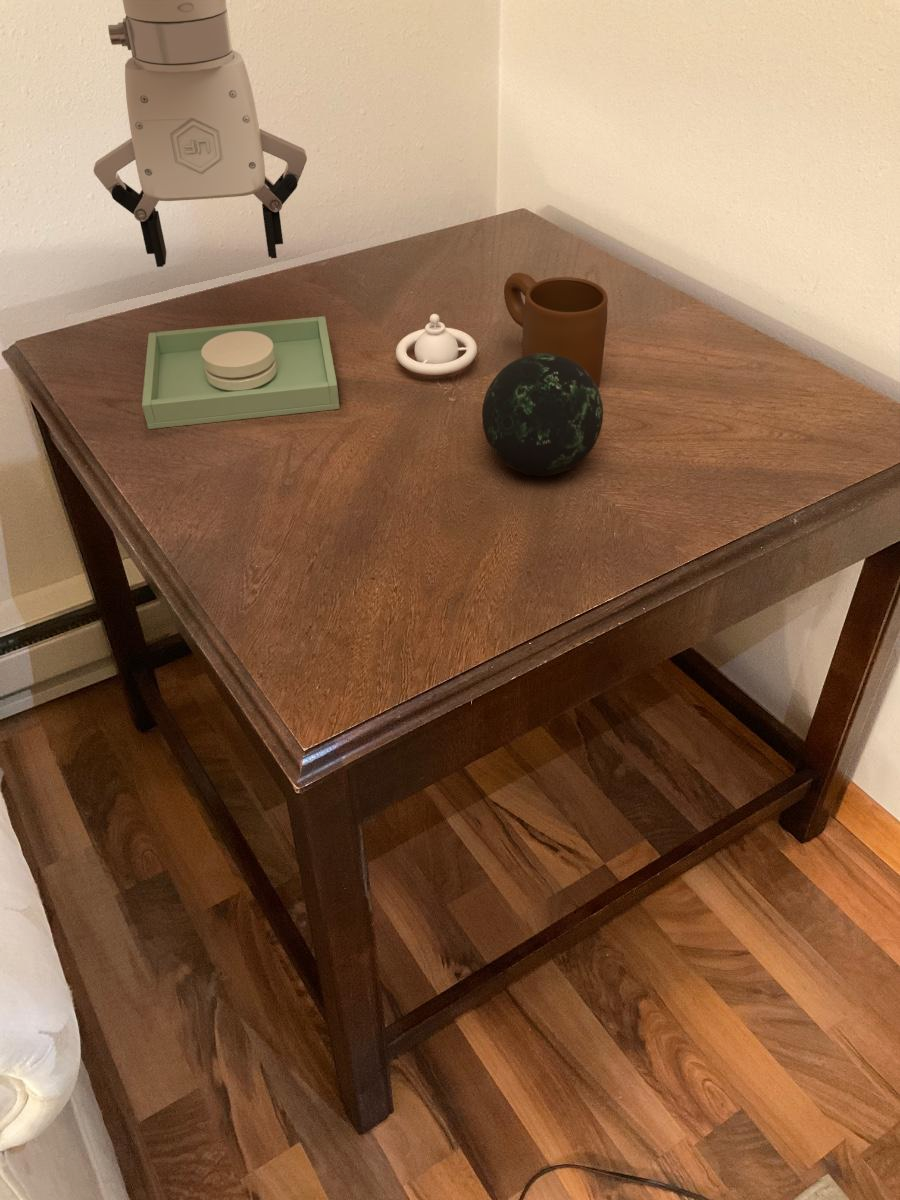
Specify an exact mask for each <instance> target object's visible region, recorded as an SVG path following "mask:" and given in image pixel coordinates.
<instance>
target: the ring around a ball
mask: <svg viewBox="0 0 900 1200" xmlns="http://www.w3.org/2000/svg"><path fill="white" fill-rule="evenodd" d="M440 319H441V318H440V316H439V314H437V313H432V314H431V315H430V316H429V322H428V323H427V324H425V326H424V328H421V329H419V330H415V331H412V332H410V333H409V334H407V335H405V336H404V337H403V338H402V339H401V340H400V341H399V342H398V343H397V345H396V349H395V357H396V361H398V363H399V364H400V365H401V366H402V367H403V368H405V369H406V370H408V371H410V372H413V373H415V374H419V375H426V376H443V375H449V374H452V373H456V372H459V371H461V370H463V369H465V368H466V367H468V366H469V365H470V364H472V363H473V362H474V360H475V359H476V357H477V354H478V345H477V342H476V340H475V339H474V338H473V337H472V336H471V335H469V334H468V333H467V332H464V331H462V330H460V329H456V328H452V327H446V325H445V324H444V323H443V322H441V320H440ZM458 343H460V344H462V345H464V346H463V347H459V344H458ZM413 345H414V357H415V359H413V358H411V357H410V356H409V355H408V353H407V352H408V350H409V348H410V347H412V346H413ZM459 351H465V353H464V354H463V355H462V356H460V357H459Z"/></svg>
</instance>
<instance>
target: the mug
mask: <svg viewBox="0 0 900 1200" xmlns="http://www.w3.org/2000/svg"><path fill="white" fill-rule="evenodd" d="M522 295H523V296H524V297H525V298H524V301H523V297H522ZM503 297H504V302H505V306H506V309H507V311H508V313H509V315H510V317H511V318H512V320H513V321H514V322H515V323H516V324H517V325H518V326H520V327H521V328H522V336H521V339H522V340H521V345H522V346H521V358H522V357H525V356H528V355H532V354H539V353H546V354H555V355H559V356H563V357H565V358H568V359H570V360H572V361H574V362H575V363H577V364H578V365H580V366H581V367H582V368H583V369H584V370H585V371H586V372H587V373H588V374H589V375H590V377H591V378H592V379H593V381H594V382H595V384H596V386H597V388H598V389H599V388H600V384H601V378H602V369H603V360H604V352H605V343H606V334H607V333H606V332H607V323H608V301H609V300H608V294H607V292H606V290H605V289H604V288H603V287H602V286H601V285H599V284H598V283H595V282H593V281H591V280H588V279H584V278H580V277H572V276H571V277H570V276H557V277H549V278H545V279H542V280H539V281H536V280H535V279H534V278H533V277H532V276H531V275H530V274H527V273H524V272H513V273H512V274H510V276H508V277H507V278H506V281H505V283H504V288H503Z"/></svg>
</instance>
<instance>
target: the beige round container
mask: <svg viewBox="0 0 900 1200" xmlns="http://www.w3.org/2000/svg"><path fill="white" fill-rule="evenodd" d="M201 355H202V360H203V364H204V369H205V374H206V378H207V380H208V382H209V383H210V384H211V385H213V386H215V387H217V388H220V389H224V390H232V391H239V390H248V389H252V388H256V387H259V386H261V385H263V384H265V383H267V382H268V381H270V380H271V379H272V378H273V377H274V376H275V374H276V371H277V366H276V360H275V353H274V346H273V342H272V341H271V339H270V338H268V337H267V336H265V335H263V334H261V333H257V332H251V331H236V332H229V333H225V334H222V335H219V336H216V337H214V338H212V339H211V340H209V341H208V342H207V343H206V344H205V345H204V346H203V347H202V350H201Z"/></svg>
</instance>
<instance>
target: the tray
mask: <svg viewBox="0 0 900 1200" xmlns="http://www.w3.org/2000/svg"><path fill="white" fill-rule="evenodd" d="M236 331H251V332H257V333H261V334H263V335H265V336H267V337H268V338H270V339H271V341H272V342H273V346H274V353H275V360H276V366H277V371H276V374H275V376H274V377H273V378H272V379H271V380H270V381H268V382H267V383H265V384H263V385H261V386H259V387H256V388H252V389H248V390H239V391H232V390H224V389H220V388H217V387H215V386H213V385H211V384H210V383H209V382H208V380H207V378H206V374H205V369H204V364H203V360H202V355H201V350H202V347H203V346H204V345H205V344H206V343H207V342H208V341H209V340H211V339H212V338H214V337H216V336H219V335H222V334H225V333H229V332H236ZM146 346H147V347H146V359H145V368H144V380H143V391H142V399H141V408H142V411H143V415H144V419H145V423H146V426H147V427H146V428H147V429H148V430H154V429H155V430H157V429H163V428H173V427H174V428H175V427H183V426H192V425H201V424H211V423H221V422H232V421H239V420H249V419H258V418H267V417H276V416H277V417H279V416H286V415H297V414H304V413H305V414H306V413H314V412H324V411H333V410H339V409H340V407H341V406H340V399H339V398H340V397H339V391H338V390H339V389H338V382H337V377H336V371H335V365H334V358H333V354H332V348H331V343H330V337H329V330H328V326H327V320H326V316H325V315H321V316H312V317H301V318H292V319H281V320H270V321H260V322H247V323H240V324H239V323H237V324H229V325H218V326H208V327H197V328H195V327H194V328H185V329H176V330H175V329H174V330H164V331H163V330H162V331H157V332H149V333H148V335H147V345H146Z"/></svg>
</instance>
